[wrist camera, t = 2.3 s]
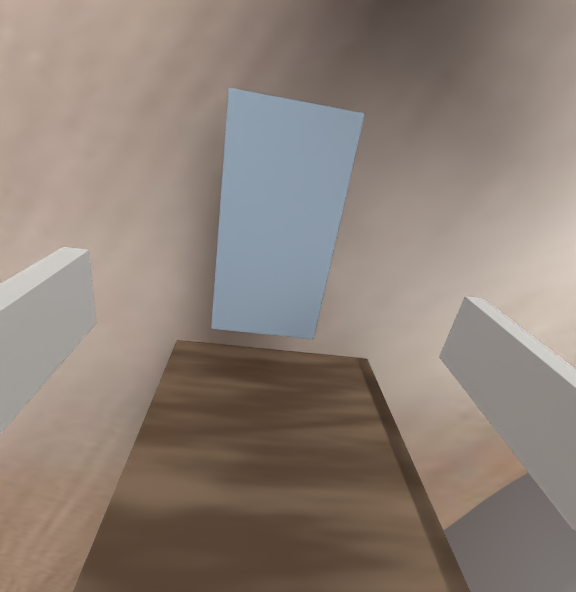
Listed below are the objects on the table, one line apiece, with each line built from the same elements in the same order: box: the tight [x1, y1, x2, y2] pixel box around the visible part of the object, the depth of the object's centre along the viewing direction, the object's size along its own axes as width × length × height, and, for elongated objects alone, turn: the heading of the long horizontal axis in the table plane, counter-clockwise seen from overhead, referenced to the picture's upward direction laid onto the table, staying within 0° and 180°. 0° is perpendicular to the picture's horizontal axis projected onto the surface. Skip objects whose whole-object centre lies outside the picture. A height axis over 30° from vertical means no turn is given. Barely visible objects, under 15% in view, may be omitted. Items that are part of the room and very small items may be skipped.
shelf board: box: [211, 88, 365, 339], centre depth 21 cm, size 14×7×2 cm, turn 171°
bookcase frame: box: [73, 340, 470, 592], centre depth 29 cm, size 18×19×20 cm
